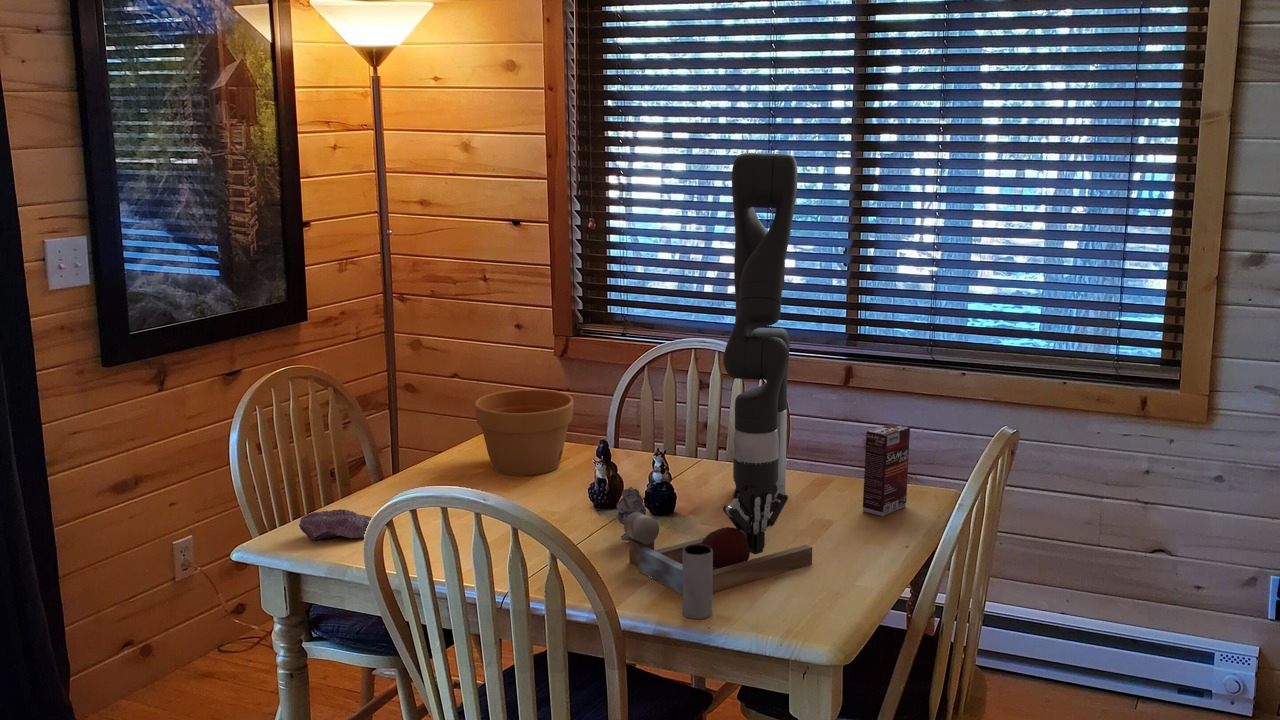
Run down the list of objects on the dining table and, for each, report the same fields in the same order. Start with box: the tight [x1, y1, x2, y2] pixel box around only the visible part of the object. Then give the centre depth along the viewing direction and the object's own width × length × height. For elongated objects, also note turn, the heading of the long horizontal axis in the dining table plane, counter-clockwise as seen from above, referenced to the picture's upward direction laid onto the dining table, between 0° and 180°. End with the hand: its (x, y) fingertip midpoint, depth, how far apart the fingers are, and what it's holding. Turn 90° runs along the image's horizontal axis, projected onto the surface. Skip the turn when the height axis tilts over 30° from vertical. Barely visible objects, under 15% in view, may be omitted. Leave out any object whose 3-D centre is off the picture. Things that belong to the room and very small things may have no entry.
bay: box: [623, 512, 813, 595], centre depth 200 cm, size 19×26×8 cm
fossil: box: [298, 509, 373, 541], centre depth 214 cm, size 8×14×5 cm, turn 110°
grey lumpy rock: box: [615, 486, 647, 542], centre depth 211 cm, size 5×5×10 cm
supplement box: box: [862, 423, 911, 517], centre depth 227 cm, size 9×5×16 cm, turn 136°
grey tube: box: [682, 544, 714, 620], centre depth 180 cm, size 4×4×10 cm
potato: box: [701, 526, 751, 569], centre depth 198 cm, size 7×8×7 cm
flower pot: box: [474, 388, 575, 477], centre depth 256 cm, size 21×21×15 cm
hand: (755, 552), depth 202 cm, fingers closed
